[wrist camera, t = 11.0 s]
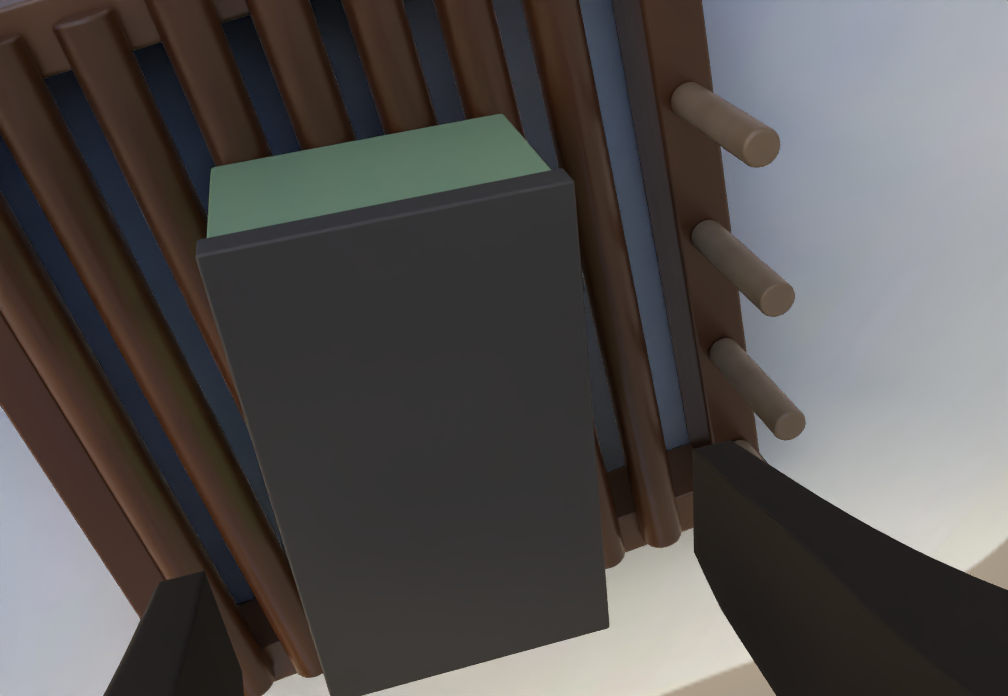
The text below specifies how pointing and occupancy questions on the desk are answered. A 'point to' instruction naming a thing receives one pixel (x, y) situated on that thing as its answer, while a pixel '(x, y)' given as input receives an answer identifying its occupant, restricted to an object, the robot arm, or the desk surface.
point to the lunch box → (416, 393)
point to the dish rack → (323, 122)
